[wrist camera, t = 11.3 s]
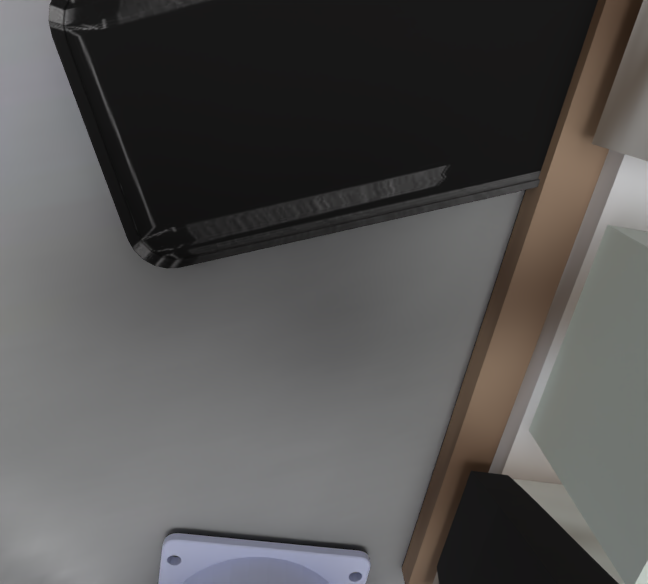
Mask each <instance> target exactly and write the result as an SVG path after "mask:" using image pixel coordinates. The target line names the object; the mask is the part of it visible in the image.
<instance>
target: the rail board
mask: <svg viewBox="0 0 648 584" xmlns="http://www.w3.org/2000/svg"><path fill="white" fill-rule="evenodd" d="M538 179H540V182H539V185H538V187H536V188H531V189H527V190H526V191H525V195H524V198H523V201H522V204H521V207H520V210H519V213H518V216H517V219H516V222H515V225H514V228H513V231H512V234H511V237H510V240H509V243H508V246H507V249H506V252H505V255H504V259H503V262H502V265H501V268H500V271H499V274H498V277H497V280H496V283H495V286H494V289H493V292H492V295H491V298H490V301H489V304H488V307H487V310H486V313H485V316H484V319H483V323H482V326H481V329H480V332H479V335H478V338H477V341H476V344H475V347H474V350H473V353H472V356H471V359H470V362H469V365H468V368H467V371H466V374H465V377H464V380H463V383H462V387H461V390H460V393H459V396H458V399H457V402H456V405H455V408H454V411H453V414H452V417H451V420H450V423H449V426H448V429H447V432H446V435H445V438H444V441H443V444H442V447H441V451H440V454H439V457H438V460H437V463H436V466H435V469H434V472H433V475H432V478H431V481H430V484H429V487H428V490H427V493H426V496H425V499H424V502H423V505H422V508H421V511H420V515H419V518H418V521H417V524H416V527H415V530H414V533H413V536H412V539H411V542H410V545H409V548H408V551H407V554H406V557H405V560H404V563H403V566H402V572H403V576H404V581H405V584H439V580H438V574H437V564H438V561H439V558H440V556H441V553H442V550H443V547H444V545H445V542H446V539H447V536H448V533H449V531H450V528H451V525H452V522H453V519H454V517H455V514H456V511H457V508H458V506H459V503H460V500H461V497H462V494H463V492H464V489H465V486H466V483H467V480H468V478H469V475H470V472H471V471H477V472H486V473H494V474H503V475H508V476H510V477H511V478H512V479H513V480H514V481H515V482H516V483H517V484H518V485H520V486H521V487H522V488H523V489H524V490H525V491H526V492H527V493H528V494H529V495H530V496H531V497H532V498H533V499H534V500H535V501H536V502H537V503H538V504H539V505H540V506H541V507H542V508H543V509H544V510H545V511H546V512H547V513H548V514H549V515H550V516H551V517H552V518H553V519H554V520H555V521H556V522H557V523H558V524H559V525H560V526H561V527H562V528H563V529H564V530H565V531H566V532H567V533H568V534H569V535H570V536H571V537H572V538H573V539H574V540H575V541H576V542H577V543H578V544H579V545H580V546H581V547H582V548H583V549H584V550H585V551H586V552H587V553H588V554H589V555H590V556H591V557H592V558H593V559H594V560H595V561H596V562H597V563H598V564H599V565H600V566H601V567H602V568H603V569H604V570H605V571H606V572H607V573H608V574H609V575H611V576H612V577H613V578H614V579H615V580H616V581H617V582H618V583H619V584H625V583H624V581H623V580H622V578H621V577H620V575H619V573H618V572H617V570H616V569H615V567H614V565H613V564H612V562H611V561H610V559H609V557H608V556H607V554H606V553H605V551H604V550H603V548H602V546H601V545H600V543H599V542H598V540H597V538H596V537H595V535H594V534H593V532H592V530H591V529H590V527H589V526H588V524H587V522H586V521H585V519H584V518H583V516H582V514H581V513H580V511H579V510H578V508H577V507H576V505H575V503H574V502H573V500H572V499H571V497H570V495H569V494H568V492H567V491H566V489H565V487H564V486H563V484H562V483H561V481H560V479H559V478H558V476H557V475H556V473H555V472H554V470H553V468H552V467H551V465H550V464H549V462H548V460H547V459H546V457H545V456H544V454H543V452H542V451H541V449H540V448H539V446H538V444H537V443H536V441H535V440H534V438H533V436H532V435H531V433H530V432H529V428H530V426H531V423H532V420H533V418H534V415H535V413H536V410H537V407H538V405H539V402H540V400H541V397H542V394H543V392H544V389H545V386H546V384H547V381H548V379H549V376H550V373H551V371H552V368H553V366H554V363H555V360H556V358H557V355H558V353H559V350H560V347H561V345H562V342H563V339H564V337H565V334H566V332H567V329H568V326H569V324H570V321H571V319H572V316H573V313H574V311H575V308H576V305H577V303H578V300H579V298H580V295H581V292H582V290H583V287H584V285H585V282H586V279H587V277H588V274H589V272H590V269H591V266H592V264H593V261H594V258H595V256H596V253H597V251H598V248H599V245H600V243H601V240H602V238H603V235H604V232H605V230H606V227H607V225H612V226H617V227H623V228H629V229H635V230H641V231H647V232H648V0H598V2H597V5H596V8H595V11H594V14H593V17H592V20H591V23H590V26H589V29H588V32H587V35H586V38H585V41H584V44H583V47H582V50H581V53H580V56H579V59H578V62H577V65H576V68H575V71H574V74H573V77H572V80H571V83H570V86H569V89H568V92H567V95H566V98H565V101H564V104H563V107H562V109H561V112H560V115H559V118H558V121H557V124H556V127H555V130H554V133H553V136H552V139H551V142H550V145H549V148H548V151H547V154H546V157H545V160H544V163H543V166H542V169H541V172H540V175H539V178H538Z"/></svg>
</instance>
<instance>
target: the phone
mask: <svg viewBox="0 0 648 584" xmlns="http://www.w3.org/2000/svg"><path fill="white" fill-rule="evenodd" d="M597 2H598V0H51V3H50V8H49V25H50V29H51V34H52V38H53V40H54V43H55V46H56V48H57V51H58V54H59V56H60V59H61V62H62V64H63V67H64V70H65V72H66V75H67V78H68V80H69V83H70V86H71V88H72V91H73V94H74V96H75V99H76V102H77V105H78V107H79V110H80V113H81V115H82V118H83V121H84V123H85V126H86V129H87V131H88V134H89V137H90V139H91V142H92V145H93V147H94V150H95V153H96V155H97V158H98V161H99V163H100V166H101V169H102V171H103V174H104V177H105V180H106V182H107V185H108V188H109V190H110V193H111V196H112V198H113V201H114V204H115V206H116V209H117V212H118V214H119V217H120V220H121V222H122V225H123V228H124V230H125V233H126V236H127V238H128V241H129V242H130V244H131V246H132V248H133V250H134V251H135V252H136V253H137V254H138V255H139V256H140V257H141V258H142V259H143V260H145V261H147V262H149V263H151V264H153V265H155V266H159V267H163V268H179V267H184V266H188V265H193V264H197V263H202V262H206V261H211V260H215V259H220V258H224V257H228V256H233V255H237V254H242V253H246V252H251V251H255V250H260V249H264V248H268V247H273V246H277V245H282V244H286V243H291V242H295V241H300V240H304V239H308V238H313V237H317V236H322V235H326V234H331V233H335V232H340V231H344V230H349V229H353V228H357V227H362V226H366V225H371V224H375V223H380V222H384V221H389V220H393V219H398V218H402V217H406V216H411V215H415V214H420V213H424V212H429V211H433V210H438V209H442V208H447V207H451V206H455V205H460V204H464V203H469V202H473V201H478V200H482V199H487V198H491V197H496V196H500V195H504V194H509V193H513V192H518V191H522V190H527V189H531V188H536V187H538V185H539V182H540V179H538V178H539V175H540V172H541V169H542V166H543V163H544V160H545V157H546V154H547V151H548V148H549V145H550V142H551V139H552V136H553V133H554V130H555V127H556V124H557V121H558V118H559V115H560V112H561V109H562V107H563V104H564V101H565V98H566V95H567V92H568V89H569V86H570V83H571V80H572V77H573V74H574V71H575V68H576V65H577V62H578V59H579V56H580V53H581V50H582V47H583V44H584V41H585V38H586V35H587V32H588V29H589V26H590V23H591V20H592V17H593V14H594V11H595V8H596V5H597Z"/></svg>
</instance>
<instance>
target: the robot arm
mask: <svg viewBox="0 0 648 584" xmlns="http://www.w3.org/2000/svg"><path fill="white" fill-rule="evenodd" d="M171 555H176V556H179V557H174V556H171ZM369 570H370V558H369V556H368V554H366V553H365V552H363V551H358V550H347V549H337V548H327V547H316V546H306V545H295V544H285V543H275V542H264V541H254V540H243V539H233V538H223V537H212V536H202V535H192V534H181V533H173V534H170V535H168V536H167V537H166V538H165V540H164V542H163V546H162V553H161V562H160V571H159V580H158V584H366V580H367V577H368V574H369ZM353 572H357V573H353ZM437 574H438V580H439V584H619V583H618V582H617V581H616V580H615V579H614V578H613V577H612V576H611V575H609V574H608V573H607V572H606V571H605V570H604V569H603V568H602V567H601V566H600V565H599V564H598V563H597V562H596V561H595V560H594V559H593V558H592V557H591V556H590V555H589V554H588V553H587V552H586V551H585V550H584V549H583V548H582V547H581V546H580V545H579V544H578V543H577V542H576V541H575V540H574V539H573V538H572V537H571V536H570V535H569V534H568V533H567V532H566V531H565V530H564V529H563V528H562V527H561V526H560V525H559V524H558V523H557V522H556V521H555V520H554V519H553V518H552V517H551V516H550V515H549V514H548V513H547V512H546V511H545V510H544V509H543V508H542V507H541V506H540V505H539V504H538V503H537V502H536V501H535V500H534V499H533V498H532V497H531V496H530V495H529V494H528V493H527V492H526V491H525V490H524V489H523V488H522V487H521V486H520V485H518V484H517V483H516V482H515V481H514V480H513V479H512V478H511V477H510V476H508V475H503V474H494V473H486V472H477V471H471V472H470V475H469V478H468V480H467V483H466V486H465V489H464V492H463V494H462V497H461V500H460V503H459V506H458V508H457V511H456V514H455V517H454V519H453V522H452V525H451V528H450V531H449V533H448V536H447V539H446V542H445V545H444V547H443V550H442V553H441V556H440V558H439V561H438V564H437Z"/></svg>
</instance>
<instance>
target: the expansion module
mask: <svg viewBox="0 0 648 584" xmlns="http://www.w3.org/2000/svg"><path fill="white" fill-rule="evenodd" d="M529 432H530V433H531V435H532V436H533V438H534V440H535V441H536V443H537V444H538V446H539V448H540V449H541V451H542V452H543V454H544V456H545V457H546V459H547V460H548V462H549V464H550V465H551V467H552V468H553V470H554V472H555V473H556V475H557V476H558V478H559V479H560V481H561V483H562V484H563V486H564V487H565V489H566V491H567V492H568V494H569V495H570V497H571V499H572V500H573V502H574V503H575V505H576V507H577V508H578V510H579V511H580V513H581V514H582V516H583V518H584V519H585V521H586V522H587V524H588V526H589V527H590V529H591V530H592V532H593V534H594V535H595V537H596V538H597V540H598V542H599V543H600V545H601V546H602V548H603V550H604V551H605V553H606V554H607V556H608V557H609V559H610V561H611V562H612V564H613V565H614V567H615V569H616V570H617V572H618V573H619V575H620V577H621V578H622V580H623V581H624V583H625V584H648V232H647V231H641V230H635V229H629V228H623V227H617V226H612V225H607V227H606V230H605V232H604V235H603V238H602V240H601V243H600V245H599V248H598V251H597V253H596V256H595V258H594V261H593V264H592V266H591V269H590V272H589V274H588V277H587V279H586V282H585V285H584V287H583V290H582V292H581V295H580V298H579V300H578V303H577V305H576V308H575V311H574V313H573V316H572V319H571V321H570V324H569V326H568V329H567V332H566V334H565V337H564V339H563V342H562V345H561V347H560V350H559V353H558V355H557V358H556V360H555V363H554V366H553V368H552V371H551V373H550V376H549V379H548V381H547V384H546V386H545V389H544V392H543V394H542V397H541V400H540V402H539V405H538V407H537V410H536V413H535V415H534V418H533V420H532V423H531V426H530V428H529Z"/></svg>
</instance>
